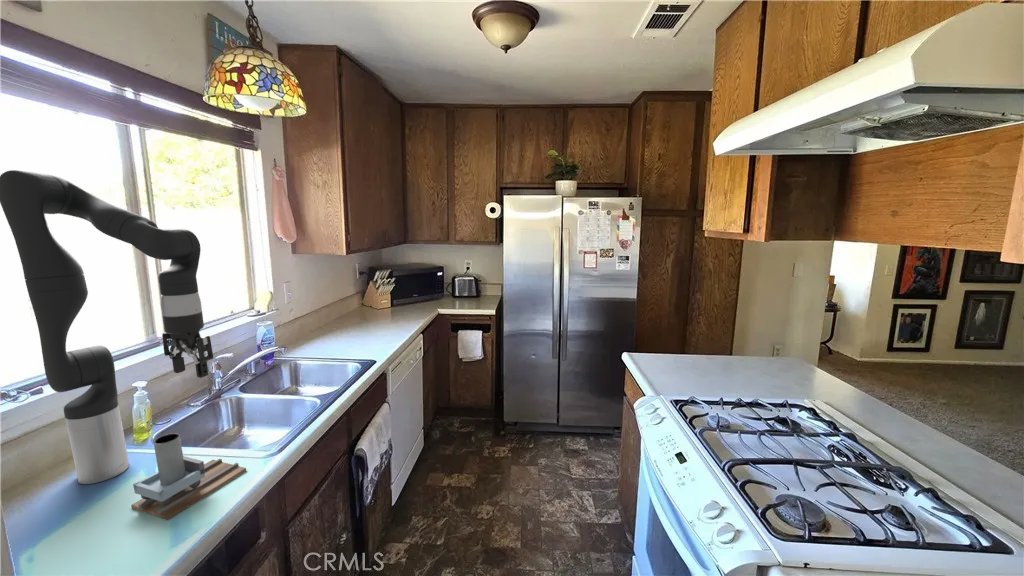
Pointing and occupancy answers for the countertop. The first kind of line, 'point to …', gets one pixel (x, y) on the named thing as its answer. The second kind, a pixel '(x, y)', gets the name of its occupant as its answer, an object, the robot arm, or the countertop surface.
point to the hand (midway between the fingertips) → (191, 374)
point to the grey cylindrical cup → (169, 458)
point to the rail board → (192, 490)
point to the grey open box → (164, 493)
